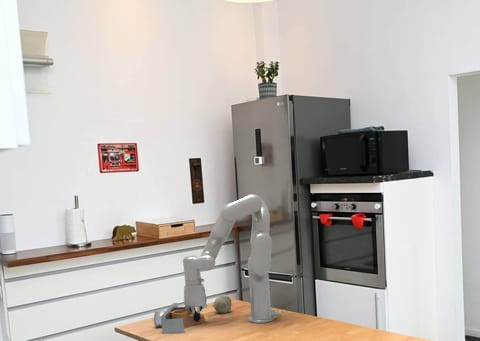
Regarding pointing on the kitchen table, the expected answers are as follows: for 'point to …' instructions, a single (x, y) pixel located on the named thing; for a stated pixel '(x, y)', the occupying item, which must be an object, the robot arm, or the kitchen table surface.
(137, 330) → the kitchen table surface
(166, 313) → the steel u-channel
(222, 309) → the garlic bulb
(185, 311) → the bracket
